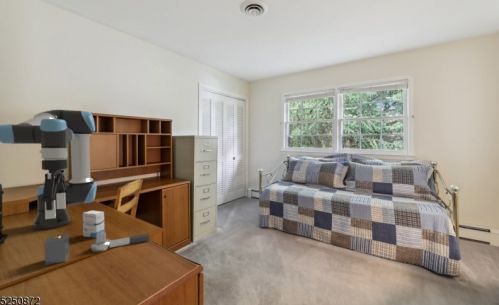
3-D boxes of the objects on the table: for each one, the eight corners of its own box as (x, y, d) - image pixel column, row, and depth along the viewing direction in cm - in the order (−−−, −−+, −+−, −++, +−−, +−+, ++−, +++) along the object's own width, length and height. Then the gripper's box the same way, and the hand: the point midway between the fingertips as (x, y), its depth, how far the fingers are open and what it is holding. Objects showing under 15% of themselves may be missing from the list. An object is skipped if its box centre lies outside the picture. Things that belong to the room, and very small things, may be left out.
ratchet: (90, 253, 93) (90, 238, 92) (93, 246, 99) (92, 232, 99) (149, 242, 103) (148, 228, 103) (148, 236, 109) (148, 223, 109)
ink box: (105, 234, 112) (104, 211, 112) (95, 238, 108) (95, 214, 107) (92, 232, 115) (91, 209, 114) (82, 236, 110) (82, 212, 109)
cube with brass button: (50, 258, 89) (49, 235, 88) (69, 254, 91) (68, 232, 91) (45, 265, 83) (44, 241, 83) (65, 261, 86) (64, 238, 86)
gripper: (52, 157, 95) (53, 206, 96) (28, 161, 73) (30, 225, 74) (74, 157, 99) (75, 204, 99) (57, 161, 77) (59, 221, 77)
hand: (56, 213), depth 87 cm, fingers open, 13 cm apart
